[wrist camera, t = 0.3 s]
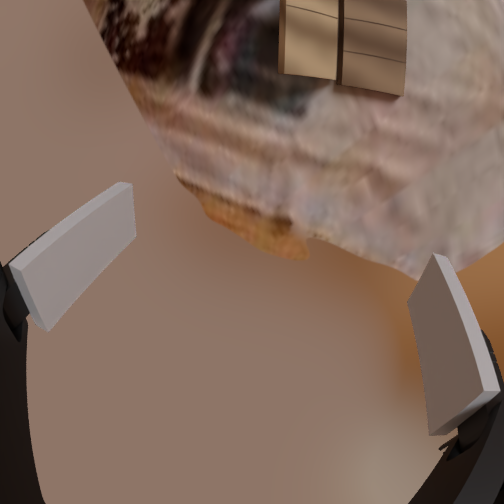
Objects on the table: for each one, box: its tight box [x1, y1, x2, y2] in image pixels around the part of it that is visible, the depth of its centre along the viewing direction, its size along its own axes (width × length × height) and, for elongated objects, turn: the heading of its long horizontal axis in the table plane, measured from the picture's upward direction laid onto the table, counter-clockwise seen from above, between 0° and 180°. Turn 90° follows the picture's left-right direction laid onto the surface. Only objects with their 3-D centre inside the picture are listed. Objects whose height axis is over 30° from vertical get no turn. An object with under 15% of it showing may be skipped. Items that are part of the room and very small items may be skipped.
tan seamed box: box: [278, 0, 339, 80], centre depth 24 cm, size 12×7×1 cm
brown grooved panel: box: [337, 0, 407, 96], centre depth 25 cm, size 13×8×1 cm, turn 178°
